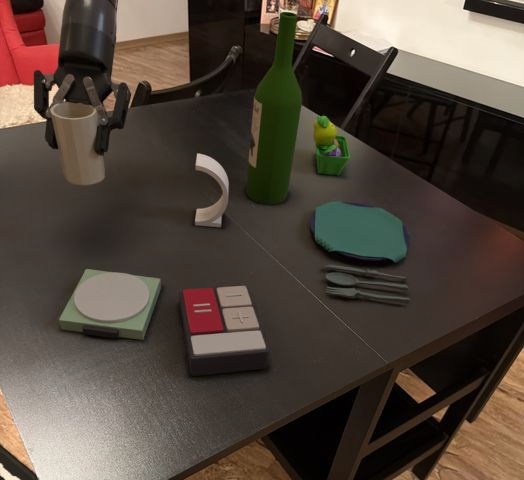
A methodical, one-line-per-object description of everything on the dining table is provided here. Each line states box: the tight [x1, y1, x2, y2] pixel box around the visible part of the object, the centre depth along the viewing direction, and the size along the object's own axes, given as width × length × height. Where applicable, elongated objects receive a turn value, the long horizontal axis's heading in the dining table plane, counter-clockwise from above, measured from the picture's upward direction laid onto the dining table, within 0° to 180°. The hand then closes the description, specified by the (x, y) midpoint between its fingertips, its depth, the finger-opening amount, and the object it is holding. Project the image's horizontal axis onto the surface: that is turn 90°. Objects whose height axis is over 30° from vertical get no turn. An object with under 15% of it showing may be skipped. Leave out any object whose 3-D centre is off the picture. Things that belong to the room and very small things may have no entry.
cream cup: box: [50, 102, 106, 186], centre depth 72 cm, size 6×6×10 cm
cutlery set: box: [309, 200, 411, 305], centre depth 91 cm, size 20×30×2 cm, turn 174°
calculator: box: [178, 285, 270, 377], centre depth 71 cm, size 11×4×15 cm
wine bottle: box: [245, 11, 303, 205], centre depth 91 cm, size 9×9×32 cm
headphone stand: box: [194, 152, 230, 228], centre depth 89 cm, size 5×6×12 cm
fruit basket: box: [312, 115, 351, 176], centre depth 111 cm, size 11×9×11 cm
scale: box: [58, 268, 162, 341], centre depth 73 cm, size 12×13×3 cm
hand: (76, 150), depth 71 cm, fingers closed on cream cup, 6 cm apart
